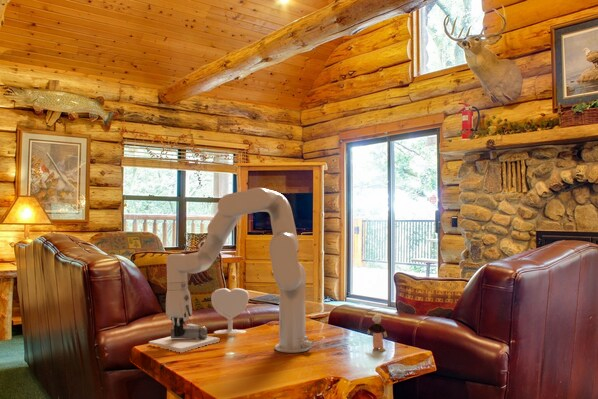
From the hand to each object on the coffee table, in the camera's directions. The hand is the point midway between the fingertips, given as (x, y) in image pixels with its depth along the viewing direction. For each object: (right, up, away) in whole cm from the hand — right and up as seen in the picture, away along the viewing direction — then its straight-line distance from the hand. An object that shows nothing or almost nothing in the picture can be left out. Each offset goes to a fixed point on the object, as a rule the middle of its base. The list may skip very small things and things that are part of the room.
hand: (178, 335), depth 184 cm
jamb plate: (+2, -4, +2) cm, 4 cm away
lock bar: (+3, -2, +3) cm, 5 cm away
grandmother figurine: (+73, -3, -9) cm, 74 cm away
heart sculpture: (+16, -5, +22) cm, 27 cm away
